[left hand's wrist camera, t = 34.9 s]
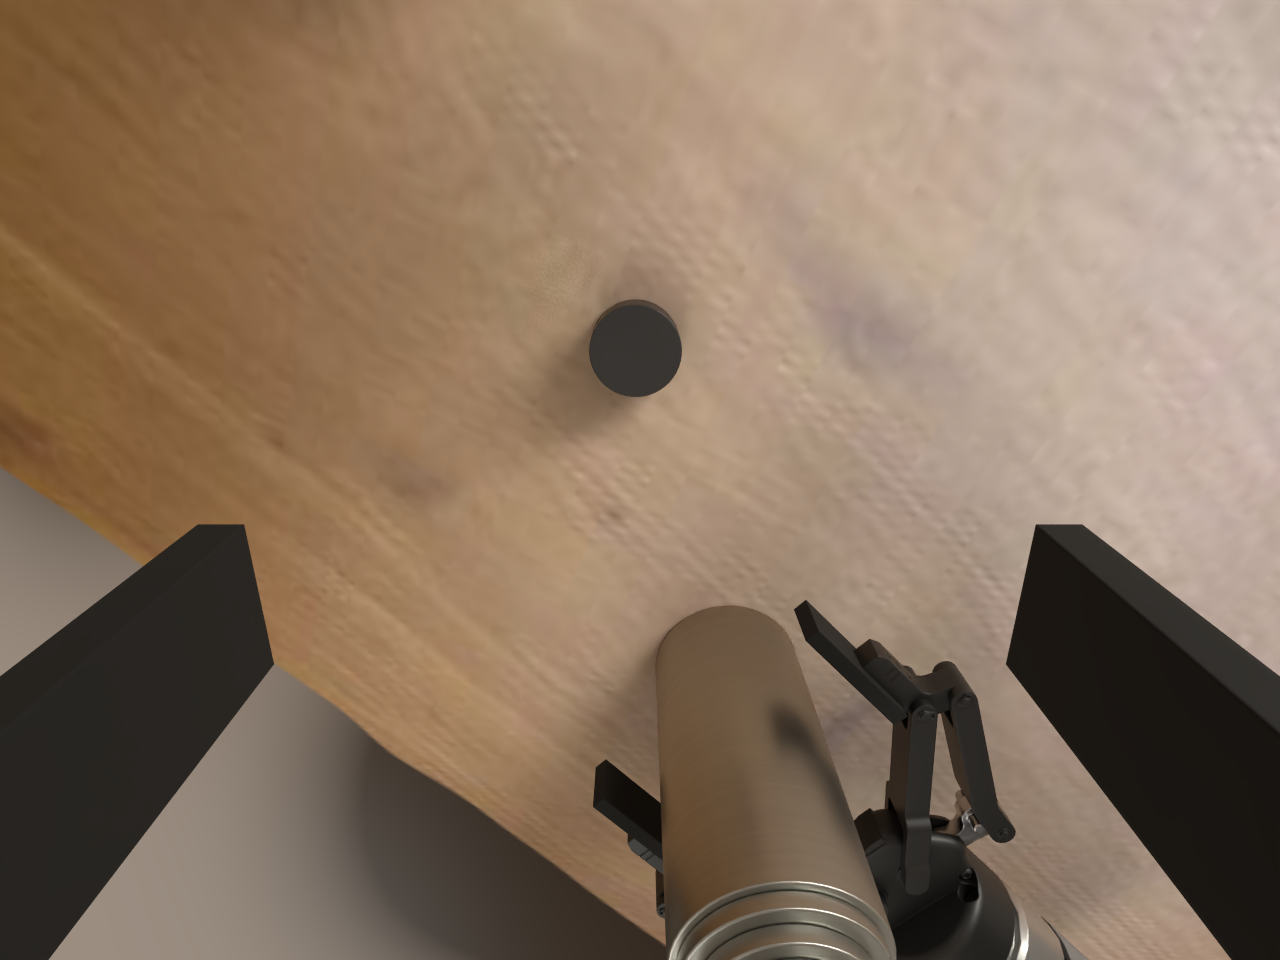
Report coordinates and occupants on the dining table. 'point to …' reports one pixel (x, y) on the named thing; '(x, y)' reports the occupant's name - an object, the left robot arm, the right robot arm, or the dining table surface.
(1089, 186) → the dining table surface
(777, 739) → the bottle
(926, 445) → the dining table surface
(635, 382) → the cap
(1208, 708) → the left robot arm
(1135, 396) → the dining table surface
